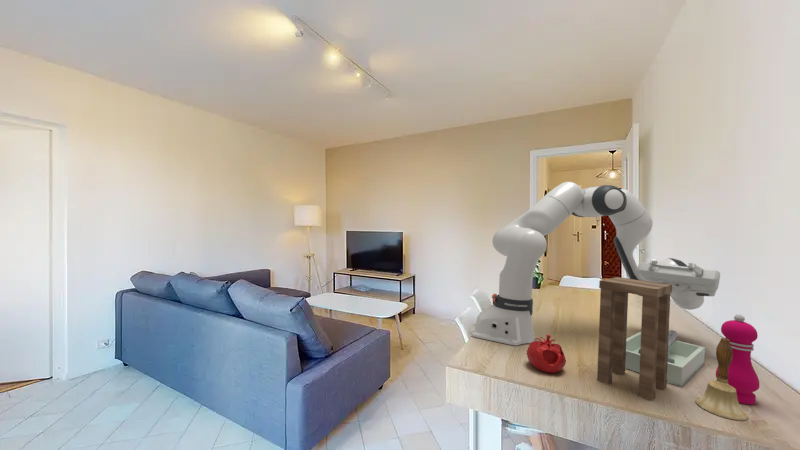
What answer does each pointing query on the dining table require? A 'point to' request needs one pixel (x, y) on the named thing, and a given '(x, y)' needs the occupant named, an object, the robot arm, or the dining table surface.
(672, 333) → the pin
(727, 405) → the hand bell
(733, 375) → the pepper mill
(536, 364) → the pomegranate
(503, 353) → the dining table surface
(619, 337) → the stand
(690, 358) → the tray
